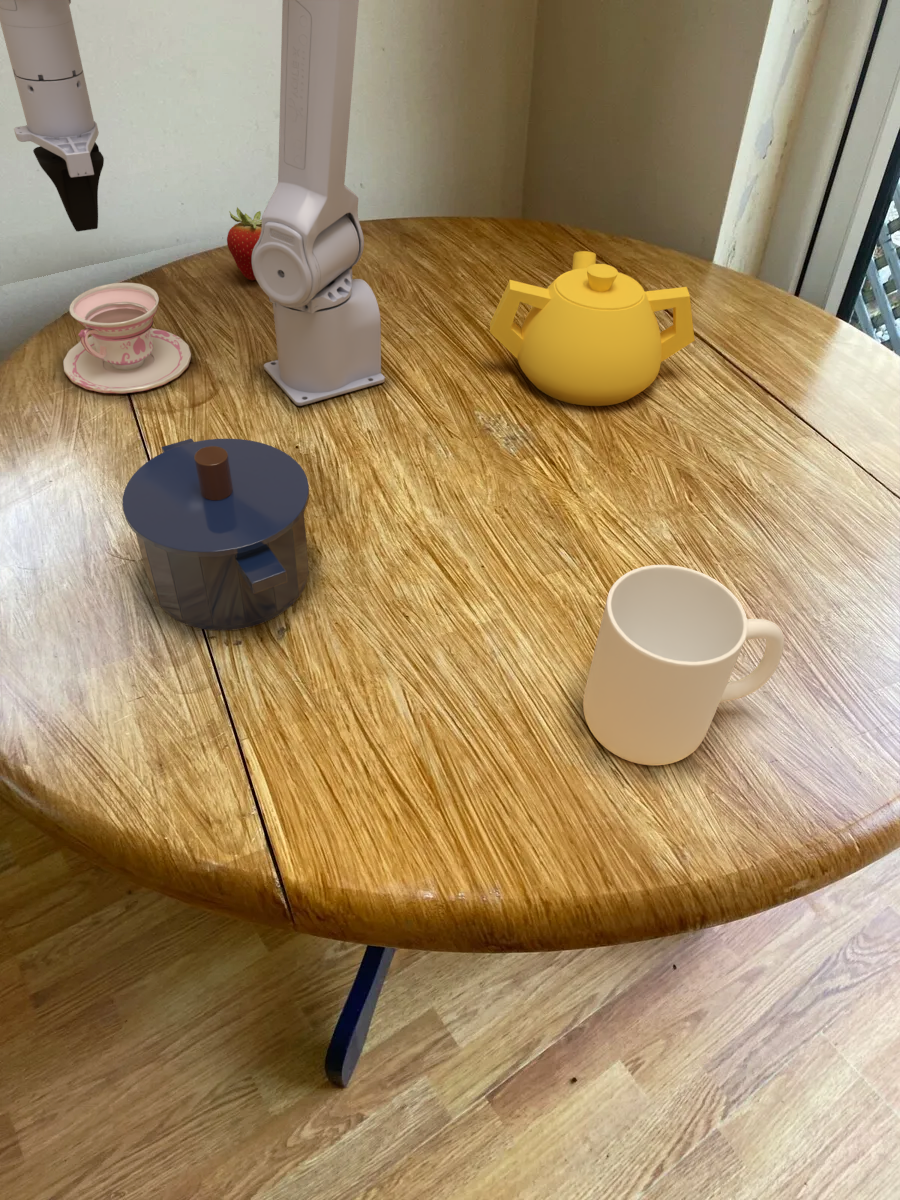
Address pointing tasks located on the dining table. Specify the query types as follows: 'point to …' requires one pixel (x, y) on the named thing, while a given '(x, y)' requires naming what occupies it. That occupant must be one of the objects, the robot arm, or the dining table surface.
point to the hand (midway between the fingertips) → (85, 227)
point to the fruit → (244, 241)
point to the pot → (229, 580)
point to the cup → (669, 662)
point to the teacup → (122, 341)
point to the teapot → (592, 332)
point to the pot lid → (215, 497)
